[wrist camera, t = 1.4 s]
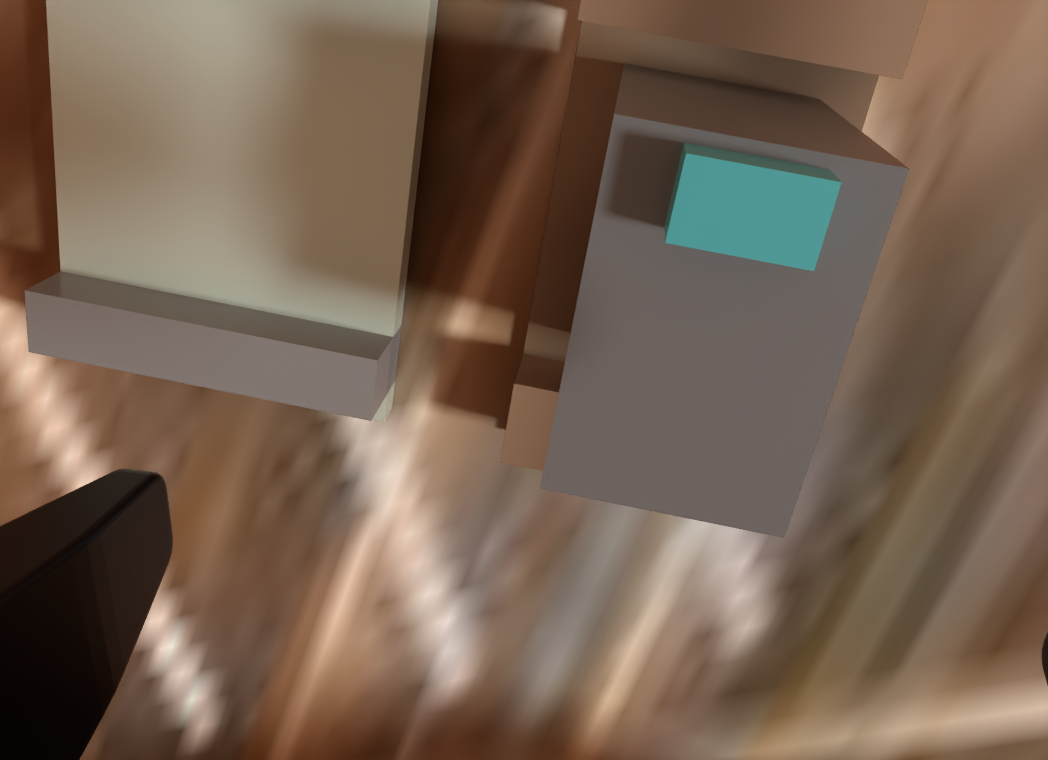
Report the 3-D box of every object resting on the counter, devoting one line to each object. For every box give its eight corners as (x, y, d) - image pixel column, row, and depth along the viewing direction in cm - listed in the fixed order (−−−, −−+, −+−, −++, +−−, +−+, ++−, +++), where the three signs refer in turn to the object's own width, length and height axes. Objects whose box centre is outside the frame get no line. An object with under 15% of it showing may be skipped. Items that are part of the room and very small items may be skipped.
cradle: (453, -136, 18) (429, -149, 16) (392, 407, 23) (368, 449, 21) (58, -206, 18) (-13, -226, 16) (83, 345, 23) (31, 381, 21)
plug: (819, 98, 19) (925, 181, 12) (742, 366, 21) (791, 567, 14) (624, 63, 19) (612, 122, 12) (570, 332, 21) (534, 514, 14)
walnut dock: (915, -54, 18) (945, -56, 16) (749, 479, 23) (759, 524, 21) (605, -109, 18) (601, -117, 16) (510, 431, 23) (498, 471, 21)
